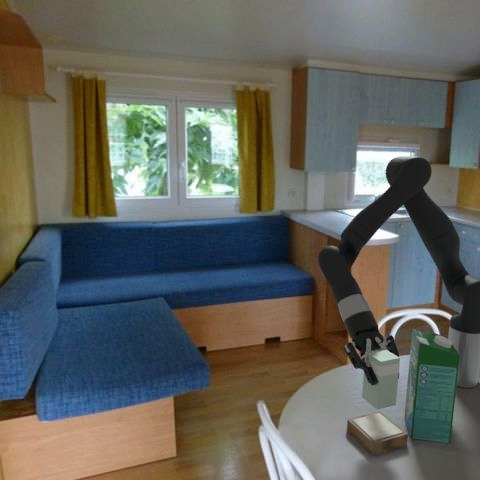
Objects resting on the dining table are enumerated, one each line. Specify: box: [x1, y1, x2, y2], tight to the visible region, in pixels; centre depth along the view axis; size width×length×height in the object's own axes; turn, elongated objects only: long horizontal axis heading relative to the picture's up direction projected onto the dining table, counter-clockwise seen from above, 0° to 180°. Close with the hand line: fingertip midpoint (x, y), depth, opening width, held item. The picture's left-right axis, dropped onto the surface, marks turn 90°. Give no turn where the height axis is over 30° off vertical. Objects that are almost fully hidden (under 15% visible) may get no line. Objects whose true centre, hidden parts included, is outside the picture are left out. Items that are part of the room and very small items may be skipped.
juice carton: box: [361, 349, 401, 410], centre depth 101 cm, size 6×6×12 cm
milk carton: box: [404, 328, 460, 444], centre depth 105 cm, size 9×9×25 cm
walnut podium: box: [346, 411, 409, 457], centre depth 104 cm, size 10×10×3 cm
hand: (385, 381), depth 99 cm, fingers closed on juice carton, 5 cm apart
